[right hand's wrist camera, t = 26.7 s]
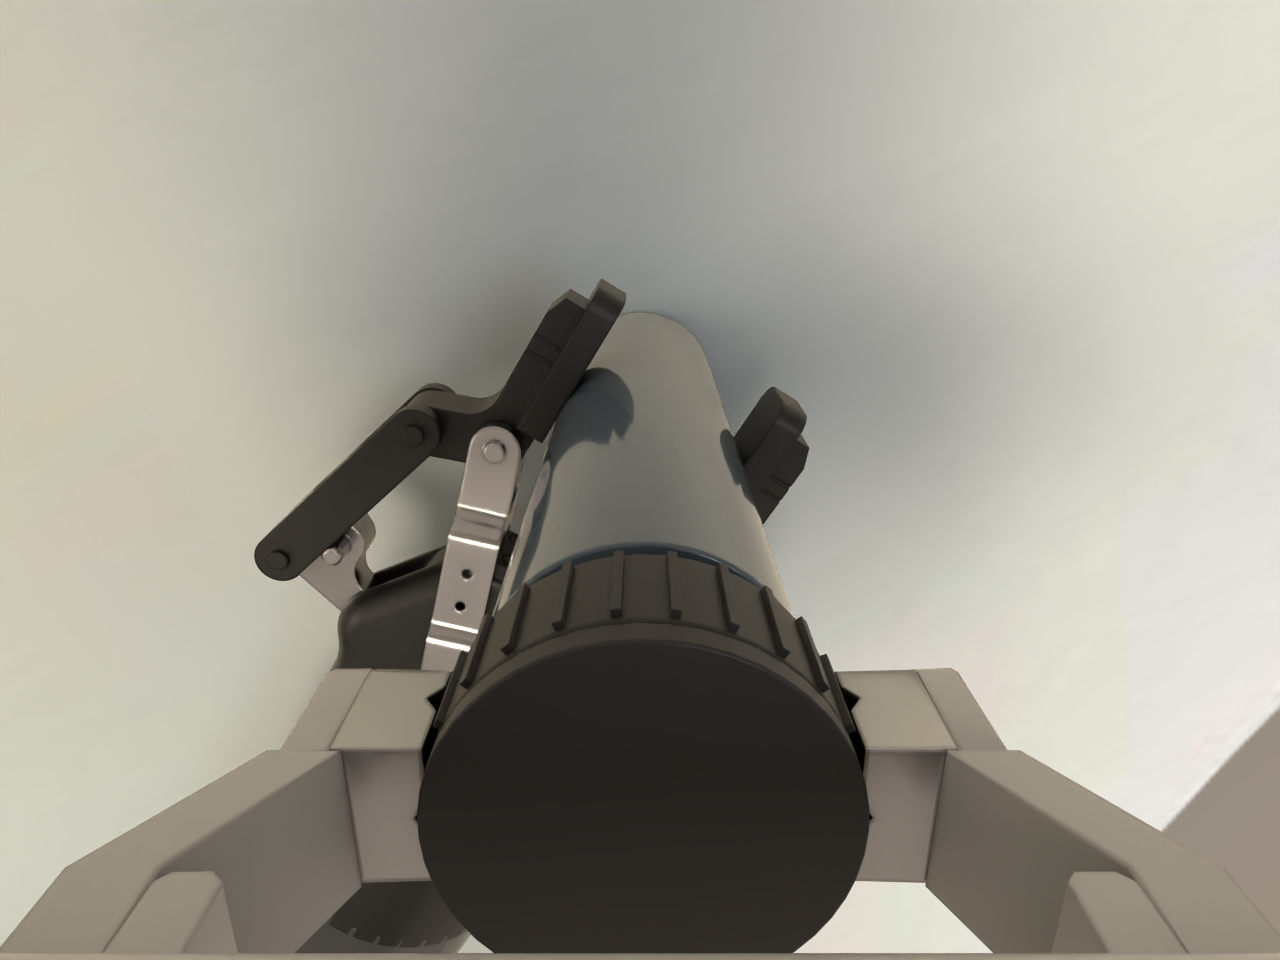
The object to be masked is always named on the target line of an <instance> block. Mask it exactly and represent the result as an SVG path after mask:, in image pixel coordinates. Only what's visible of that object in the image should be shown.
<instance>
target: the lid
mask: <svg viewBox="0 0 1280 960" xmlns="http://www.w3.org/2000/svg"><path fill="white" fill-rule="evenodd" d="M433 727H435V728H437V729H438V734H437V737H436V740H435V743H434V746H433V748H432V751H431V754H430V757H429V759H428V762H427V765H426V768H425V772H424V775H423V779H422V782H421V786H420V790H419V798H418V808H417V824H418V838H419V842H420V847H421V851H422V855H423V860H424V863H425V866H426V868H427V871H428V873H429V876H430V878H431V881H432V883H433V885H434V887H435V889H436V890H437V892H438V894H439V895H440V897H441V899H442V900H443V902H444V904H445V905H446V906H447V908H448V909H449V910H450V912H451V913H452V914H453V915H454V917H455V918H456V919H457V920H458V922H459V923H460V924H461V925H462V926H463V927H464V928H465V929H466V930H467V931H468V932H469V933H470V934H471V935H472V936H473V937H475V938H476V939H477V940H478V941H479V942H480V943H482V944H483V945H484V946H486V947H487V948H488V949H490V950H491V951H492V952H494V953H793V952H795V951H796V950H797V949H799V948H800V947H801V946H802V945H804V944H805V943H806V942H807V941H809V940H810V939H811V938H812V937H813V936H815V935H816V934H817V933H818V932H819V930H820V929H821V928H822V927H823V926H824V925H825V924H826V923H827V922H828V921H829V920H830V919H831V918H832V917H833V915H834V914H835V913H836V911H837V910H838V908H839V907H840V906H841V904H842V903H843V902H844V900H845V899H846V897H847V895H848V893H849V891H850V890H851V888H852V886H853V884H854V882H855V880H856V878H857V876H858V873H859V870H860V867H861V864H862V861H863V859H864V856H865V851H866V845H867V840H868V834H869V801H868V794H867V788H866V782H865V779H864V776H863V773H862V770H861V767H860V764H859V761H858V758H857V756H856V753H855V750H854V747H853V744H852V742H851V739H850V736H849V733H852V732H854V731H855V727H854V725H853V722H852V719H851V717H850V714H849V711H848V709H847V706H846V703H845V701H844V698H843V695H842V693H841V690H840V687H839V685H838V682H837V679H836V677H835V674H834V671H833V669H832V666H831V663H830V661H829V658H828V656H827V654H824V655H822V656H820V655H819V653H818V651H817V649H816V647H815V645H814V642H813V639H812V636H811V633H810V631H809V628H808V625H807V622H806V621H805V620H804V618H803V617H802V616H801V617H799V618H798V619H795V618H794V617H793V616H792V615H791V614H790V613H789V612H788V611H787V610H786V609H785V608H784V607H783V606H782V605H781V604H780V603H779V602H777V601H776V600H775V598H774V595H773V592H772V589H770V588H769V587H768V586H766V585H764V586H763V588H762V589H760V588H758V587H757V586H755V585H753V584H752V583H750V582H748V581H746V580H745V579H743V578H741V577H739V576H737V575H734V574H732V573H730V572H729V570H728V566H727V565H725V564H722V563H719V564H718V566H717V567H715V566H712V565H708V564H705V563H701V562H698V561H695V560H691V559H685V558H679V557H677V552H673V551H668V552H667V556H666V555H644V554H635V555H624V551H623V550H621V551H614V556H612V557H607V558H602V559H597V560H592V561H587V562H584V563H581V564H578V565H575V566H574V565H573V563H572V561H569V562H566V563H563V566H562V570H560V571H558V572H556V573H554V574H552V575H550V576H548V577H545V578H543V579H541V580H539V581H537V582H536V583H534V584H533V585H531V586H528V585H527V584H526V583H523V584H521V585H520V586H518V589H517V592H516V596H515V597H513V598H512V599H511V600H510V601H509V602H508V603H506V604H505V605H504V606H503V607H502V608H501V609H499V610H498V611H497V613H496V614H495V615H494V616H491V615H490V614H489V613H487V614H486V615H485V616H484V617H483V618H482V621H481V624H480V627H479V630H478V633H477V636H476V639H475V641H474V642H473V644H472V645H471V647H470V649H469V651H468V652H465V651H463V650H461V652H460V654H459V656H458V659H457V661H456V664H455V667H454V670H453V672H452V675H451V678H450V680H449V683H448V686H447V689H446V691H445V694H444V697H443V699H442V702H441V705H440V708H439V710H438V713H437V716H436V718H435V721H434V724H433Z"/></svg>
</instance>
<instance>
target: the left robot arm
mask: <svg viewBox="0 0 1280 960" xmlns="http://www.w3.org/2000/svg"><path fill="white" fill-rule="evenodd" d="M625 301H626V293H624V292H622V291H621V290H619V289H618V288H616V287H614V286H613V285H611V284H609V283H608V282H606V281H605V280H603V279H601V280H600V281H599V283H598V285H597V286H596V288H595V290H594V291H593V293H592V295H591V296H590V298H589V300H588V299H586V298H585V297H583V296H581V295H580V294H578V293H577V292H575V291H573V290H572V289H570V290H569V291H567V292H566V293H565V294H563V295H562V296H561V297H560V298H558V299H557V300H556V301H554V302H553V303H552V305H551V307H550V308H549V310H548V312H547V313H546V315H545V317H544V318H543V320H542V322H541V324H540V325H539V327H538V329H537V331H536V332H535V334H534V336H533V338H532V339H531V341H530V343H529V345H528V346H527V348H526V350H525V352H524V353H523V355H522V357H521V359H520V360H519V362H518V364H517V366H516V367H515V369H514V371H513V373H512V374H511V376H510V378H509V379H508V381H507V383H506V385H505V386H504V388H503V389H502V390H501V391H499V392H498V393H497V394H495V395H493V396H490V397H486V398H474V397H469V396H464V395H458V394H456V393H455V392H454V391H453V390H452V389H450V388H449V387H447V386H445V385H443V384H439V383H432V384H427V385H425V386H423V387H422V388H420V389H419V390H418V391H417V392H416V393H415V394H414V395H413V396H412V397H411V398H410V399H409V400H408V401H407V402H405V403H404V404H403V405H402V406H401V407H400V408H399V409H398V410H397V411H396V412H395V413H394V414H393V415H392V416H391V417H390V418H388V419H387V420H386V421H385V422H384V423H383V424H382V425H381V426H380V427H379V428H378V429H377V430H376V431H375V432H374V433H373V434H372V435H370V436H369V437H368V438H367V439H366V440H365V441H364V442H363V443H362V444H361V445H360V446H359V447H358V448H357V449H356V450H355V451H353V452H352V453H351V454H350V455H349V456H348V457H347V458H346V459H345V460H344V461H343V462H342V463H341V464H340V465H339V466H338V467H336V468H335V469H334V470H333V471H332V472H331V473H330V474H329V475H328V476H327V477H326V478H325V479H324V480H323V481H322V482H321V483H319V484H318V485H317V486H316V487H315V488H314V489H313V490H312V491H311V492H310V493H309V494H308V495H307V496H306V497H305V498H304V499H302V500H301V501H300V502H299V503H298V504H297V505H296V506H295V507H294V508H293V509H292V510H291V511H290V512H289V513H288V514H287V515H286V516H285V517H284V518H283V519H282V520H281V521H280V522H279V523H278V524H277V525H276V526H275V527H274V528H273V529H272V530H271V531H270V532H269V533H268V534H267V535H266V537H265V538H264V539H263V540H262V541H261V542H260V543H259V544H258V545H257V547H256V549H255V553H254V557H255V562H256V564H257V566H258V568H259V569H260V570H261V572H262V573H264V574H265V575H266V576H268V577H269V578H272V579H274V580H279V581H287V580H291V579H294V578H296V577H297V576H298V575H300V576H301V577H302V578H303V579H305V580H306V581H307V582H308V583H309V584H310V585H312V586H313V587H314V588H315V589H316V590H317V591H318V592H320V593H321V594H322V595H323V596H324V597H325V598H327V599H328V600H329V601H330V602H331V603H332V604H333V605H335V606H336V607H337V608H338V609H339V610H340V611H341V613H340V616H339V620H338V636H339V653H338V657H337V660H336V661H335V663H334V665H333V667H332V668H331V670H330V671H332V670H334V669H373V670H375V669H406V670H454V667H455V664H456V661H457V659H458V656H459V654H460V652H461V650H463V651H465V652H468V651H469V649H470V647H471V645H472V644H473V642H474V641H475V639H476V636H477V633H478V630H479V627H480V624H481V621H482V618H483V617H484V616H485V615H486V614H487V613H489V614H490V615H491V616H492V614H493V611H494V608H495V605H496V602H497V598H498V595H499V592H500V589H501V586H502V583H503V580H504V577H505V574H506V571H507V568H508V565H509V562H510V558H511V555H512V552H513V549H514V546H515V543H516V540H517V537H518V534H516V533H514V532H512V531H510V529H511V525H512V520H513V516H514V511H515V507H516V503H517V498H518V494H519V488H520V480H521V476H522V472H523V467H524V463H525V458H526V454H527V450H528V448H529V447H530V445H531V443H532V442H533V440H534V439H536V440H537V441H539V442H541V443H542V442H543V441H544V439H545V437H546V436H547V434H548V432H549V431H550V429H551V427H552V426H553V424H554V422H555V421H556V419H557V417H558V415H559V413H560V411H561V410H562V408H563V407H564V405H565V404H566V402H567V401H568V399H569V398H570V396H571V394H572V393H573V391H574V389H575V388H576V386H577V384H578V383H579V381H580V379H581V378H582V376H583V374H584V373H585V371H586V369H587V368H588V366H589V365H590V363H591V361H592V360H593V358H594V356H595V355H596V353H597V351H598V350H599V348H600V346H601V345H602V343H603V341H604V340H605V338H606V336H607V335H608V333H609V331H610V330H611V328H612V326H613V325H614V323H615V321H616V320H617V318H618V316H619V314H620V313H621V311H622V309H623V307H624V305H625ZM806 420H807V416H806V414H805V413H804V411H803V410H802V408H801V407H800V405H799V403H798V402H797V401H796V400H794V399H793V398H791V397H790V396H788V395H786V394H785V393H783V392H782V391H780V390H778V389H777V388H775V387H771V388H770V389H768V390H767V391H766V392H765V393H764V395H763V396H762V397H761V399H760V400H759V402H758V403H757V405H756V406H755V407H754V409H753V410H752V412H751V413H750V415H749V416H748V418H747V419H746V420H745V422H744V423H743V425H742V426H741V428H740V429H739V431H738V432H737V433H736V435H735V436H734V441H735V444H736V447H737V450H738V453H739V456H740V459H741V462H742V465H743V468H744V471H745V474H746V477H747V480H748V483H749V486H750V489H751V492H752V495H753V498H754V501H755V504H756V507H757V510H758V513H759V516H760V519H761V522H762V525H763V524H764V523H765V521H766V520H767V518H768V517H769V516H770V514H771V513H772V512H773V510H774V509H775V507H776V506H777V505H778V503H779V501H780V500H781V499H782V498H783V497H784V495H785V494H786V492H787V491H788V489H789V487H790V486H792V484H793V483H794V482H795V480H796V479H797V477H798V476H799V475H800V473H801V472H802V471H803V469H804V466H805V462H806V458H807V454H808V451H809V447H808V445H807V443H806V442H805V440H804V438H803V436H802V435H801V433H802V431H803V429H804V426H805V424H806ZM429 456H433V457H438V458H444V459H449V460H454V461H459V462H464V463H465V468H464V473H463V478H462V483H461V488H460V493H459V498H458V503H457V508H456V512H455V515H454V518H453V521H452V524H451V527H450V531H449V535H448V540H447V545H445V546H442V547H440V548H437V549H435V550H432V551H429V552H427V553H424V554H422V555H419V556H416V557H414V558H411V559H409V560H406V561H403V562H401V563H398V564H396V565H393V566H391V567H388V568H385V569H383V570H380V571H378V572H375V573H373V572H372V571H371V570H370V569H369V567H368V565H367V562H366V551H367V549H368V548H369V546H370V545H371V543H372V542H373V540H374V538H375V534H376V530H375V525H374V523H373V521H372V519H371V518H370V516H369V515H368V512H369V511H370V510H371V509H372V508H373V507H374V506H375V505H376V504H377V503H379V502H380V501H381V500H382V499H383V498H384V497H385V496H386V495H387V494H388V493H389V492H391V491H392V490H393V489H394V488H395V487H396V486H397V485H398V484H399V483H400V482H402V481H403V480H404V479H405V478H406V477H407V476H408V475H409V474H410V473H411V472H413V471H414V470H415V469H416V468H417V467H418V466H419V465H420V464H421V463H422V462H424V461H425V460H426V459H427V458H428V457H429ZM470 935H471V934H470V933H469V932H468V931H467V930H466V929H465V928H464V927H463V926H462V925H461V924H460V923H459V922H458V920H457V919H456V918H455V917H454V915H453V914H452V913H451V912H450V910H449V909H448V908H447V906H446V905H445V904H444V902H443V900H442V899H441V897H440V895H439V894H438V892H437V890H436V889H435V887H434V885H433V883H432V881H404V882H369V883H361V888H360V889H359V890H358V891H357V892H356V893H355V894H354V895H353V896H352V897H351V898H350V899H349V900H348V901H347V902H346V903H345V904H344V905H343V906H342V907H341V908H339V909H338V910H337V911H336V912H335V913H334V914H333V915H332V916H331V917H330V918H329V919H328V920H327V921H326V922H325V923H324V924H323V925H322V926H321V927H320V928H319V929H318V930H317V931H316V932H315V933H314V934H313V935H312V936H311V937H310V938H309V939H308V940H307V941H306V942H305V943H304V944H303V945H302V946H301V947H300V948H299V949H298V950H297V951H296V952H295V953H458V951H459V950H460V949H461V947H462V946H463V945H464V943H465V942H466V941H467V939H468V938H469V936H470Z"/></svg>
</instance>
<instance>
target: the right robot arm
mask: <svg viewBox="0 0 1280 960" xmlns="http://www.w3.org/2000/svg"><path fill="white" fill-rule="evenodd" d="M452 672H453V670H406V669H375V670H373V669H334V670H332V671H330V672H328V673H327V674H326V676H325V678H324V679H323V681H322V683H321V684H320V686H319V687H318V689H317V691H316V692H315V694H314V696H313V697H312V699H311V701H310V702H309V704H308V705H307V707H306V709H305V710H304V712H303V714H302V715H301V717H300V718H299V720H298V722H297V723H296V725H295V727H294V728H293V730H292V731H291V733H290V735H289V736H288V738H287V740H286V741H285V743H284V744H283V746H282V748H281V749H280V750H268V751H266V752H264V753H262V754H261V755H259V756H257V757H255V758H254V759H252V760H250V761H248V762H247V763H245V764H243V765H242V766H240V767H238V768H236V769H235V770H233V771H231V772H230V773H228V774H226V775H224V776H223V777H221V778H219V779H217V780H216V781H214V782H212V783H211V784H209V785H207V786H205V787H204V788H202V789H200V790H198V791H197V792H195V793H193V794H192V795H190V796H188V797H186V798H185V799H183V800H181V801H180V802H178V803H176V804H174V805H173V806H171V807H169V808H167V809H166V810H164V811H162V812H161V813H159V814H157V815H155V816H154V817H152V818H150V819H149V820H147V821H145V822H143V823H142V824H140V825H138V826H136V827H135V828H133V829H131V830H130V831H128V832H126V833H124V834H123V835H121V836H119V837H117V838H116V839H114V840H112V841H111V842H109V843H107V844H105V845H104V846H102V847H100V848H99V849H97V850H95V851H93V852H92V853H90V854H88V855H86V856H85V857H83V858H81V859H80V860H78V861H76V862H74V863H73V864H71V865H69V866H67V867H66V868H64V870H63V871H62V872H61V873H60V875H59V876H58V877H57V878H56V879H55V881H54V882H53V883H52V884H51V886H50V887H49V888H48V889H47V891H46V892H45V893H44V894H43V895H42V897H41V898H40V899H39V900H38V902H37V903H36V904H35V905H34V906H33V908H32V909H31V910H30V911H29V913H28V914H27V915H26V916H25V918H24V919H23V920H22V921H21V922H20V924H19V925H18V926H17V927H16V929H15V930H14V931H13V932H12V933H11V935H10V936H9V937H8V938H7V940H6V941H5V942H4V943H3V944H2V946H1V947H0V960H1280V934H1279V933H1278V932H1277V931H1276V930H1275V928H1274V927H1273V926H1272V925H1271V923H1270V922H1269V921H1268V920H1267V919H1266V917H1265V916H1264V915H1263V914H1262V913H1261V911H1260V910H1259V909H1258V908H1257V906H1256V905H1255V904H1254V903H1253V902H1252V900H1251V899H1250V898H1249V897H1248V895H1247V894H1246V893H1245V892H1244V891H1243V889H1242V888H1241V887H1240V886H1239V885H1238V883H1237V882H1236V881H1235V880H1234V879H1233V877H1232V876H1231V875H1230V874H1229V872H1228V871H1227V870H1226V869H1225V868H1223V867H1221V866H1219V865H1218V864H1216V863H1214V862H1212V861H1211V860H1209V859H1207V858H1205V857H1204V856H1202V855H1200V854H1198V853H1197V852H1195V851H1193V850H1192V849H1190V848H1188V847H1186V846H1185V845H1183V844H1181V843H1179V842H1178V841H1176V840H1174V839H1173V838H1171V837H1169V836H1167V835H1166V834H1164V833H1162V832H1160V831H1159V830H1157V829H1155V828H1153V827H1152V826H1150V825H1148V824H1147V823H1145V822H1143V821H1141V820H1140V819H1138V818H1136V817H1134V816H1133V815H1131V814H1129V813H1127V812H1126V811H1124V810H1122V809H1121V808H1119V807H1117V806H1115V805H1114V804H1112V803H1110V802H1108V801H1107V800H1105V799H1103V798H1102V797H1100V796H1098V795H1096V794H1095V793H1093V792H1091V791H1089V790H1088V789H1086V788H1084V787H1082V786H1081V785H1079V784H1077V783H1076V782H1074V781H1072V780H1070V779H1069V778H1067V777H1065V776H1063V775H1062V774H1060V773H1058V772H1056V771H1055V770H1053V769H1051V768H1050V767H1048V766H1046V765H1044V764H1043V763H1041V762H1039V761H1037V760H1036V759H1034V758H1032V757H1030V756H1029V755H1027V754H1025V753H1024V752H1022V751H1020V750H1007V749H1006V747H1005V746H1004V744H1003V742H1002V741H1001V739H1000V738H999V736H998V735H997V733H996V731H995V730H994V728H993V727H992V725H991V723H990V722H989V720H988V719H987V717H986V716H985V714H984V712H983V711H982V709H981V708H980V706H979V705H978V703H977V701H976V700H975V698H974V697H973V695H972V694H971V692H970V690H969V689H968V687H967V686H966V684H965V683H964V681H963V679H962V678H961V676H960V675H959V673H958V672H957V671H955V670H954V669H952V668H939V669H912V670H888V671H842V672H834V674H835V677H836V679H837V682H838V685H839V687H840V690H841V693H842V695H843V698H844V701H845V703H846V706H847V709H848V711H849V714H850V717H851V719H852V722H853V725H854V727H855V731H854V732H852V733H849V736H850V739H851V742H852V744H853V747H854V750H855V753H856V756H857V758H858V761H859V764H860V767H861V770H862V773H863V776H864V779H865V782H866V788H867V794H868V801H869V834H868V840H867V845H866V851H865V856H864V859H863V861H862V864H861V867H860V870H859V873H858V876H857V878H856V880H855V881H881V882H917V883H926V887H927V888H928V889H929V890H930V891H931V892H932V893H933V894H934V895H935V896H936V897H937V898H938V899H939V900H940V901H941V902H942V903H943V904H944V905H945V906H946V907H947V908H948V909H949V910H950V911H951V912H952V913H953V914H954V915H955V916H956V917H957V918H958V919H959V920H960V921H961V922H962V923H963V924H964V925H965V926H966V927H967V928H969V929H970V930H971V931H972V932H973V933H974V934H975V935H976V936H977V937H978V938H979V939H980V940H981V941H982V942H983V943H984V944H985V945H986V946H987V947H988V948H989V949H990V950H991V951H992V952H993V953H295V952H296V951H297V950H298V949H299V948H300V947H301V946H302V945H303V944H304V943H305V942H306V941H307V940H308V939H309V938H310V937H311V936H312V935H313V934H314V933H315V932H316V931H317V930H318V929H319V928H320V927H321V926H322V925H323V924H324V923H325V922H326V921H327V920H328V919H329V918H330V917H331V916H332V915H333V914H334V913H335V912H336V911H337V910H338V909H339V908H341V907H342V906H343V905H344V904H345V903H346V902H347V901H348V900H349V899H350V898H351V897H352V896H353V895H354V894H355V893H356V892H357V891H358V890H359V889H360V888H361V883H369V882H404V881H431V878H430V876H429V873H428V871H427V868H426V866H425V863H424V860H423V855H422V851H421V847H420V842H419V838H418V824H417V808H418V798H419V790H420V786H421V782H422V779H423V775H424V772H425V768H426V765H427V762H428V759H429V757H430V754H431V751H432V748H433V746H434V743H435V740H436V737H437V734H438V729H437V728H435V727H433V724H434V721H435V718H436V716H437V713H438V710H439V708H440V705H441V702H442V699H443V697H444V694H445V691H446V689H447V686H448V683H449V680H450V678H451V675H452Z"/></svg>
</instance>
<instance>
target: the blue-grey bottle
mask: <svg viewBox="0 0 1280 960" xmlns="http://www.w3.org/2000/svg"><path fill="white" fill-rule="evenodd" d="M621 550H623V551H624V555H635V554H644V555H666V556H667V552H668V551H673V552H677V557H679V558H685V559H691V560H695V561H698V562H701V563H705V564H708V565H712V566H715V567H717V566H718V564H719V563H722V564H725V565H727V566H728V570H729V572H730V573H732V574H734V575H737V576H739V577H741V578H743V579H745V580H746V581H748V582H750V583H752V584H753V585H755V586H757V587H758V588H760V589H762V588H763V586H764V585H766V586H768V587H769V588H770V589H772V592H773V595H774V598H775V600H776V601H777V602H779V603H780V604H781V605H782V606H783V607H784V608H785V609H786V610H787V611H788V612H789V613H790V614H791V615H792V616H793V614H792V611H791V608H790V605H789V602H788V599H787V596H786V593H785V590H784V587H783V584H782V581H781V578H780V575H779V572H778V569H777V566H776V563H775V560H774V557H773V555H772V552H771V549H770V546H769V543H768V540H767V537H766V534H765V531H764V528H763V525H762V522H761V519H760V516H759V513H758V510H757V507H756V504H755V501H754V498H753V495H752V492H751V489H750V486H749V483H748V480H747V477H746V474H745V471H744V468H743V465H742V462H741V459H740V456H739V453H738V450H737V447H736V444H735V441H734V438H733V435H732V432H731V429H730V426H729V424H728V421H727V418H726V415H725V412H724V409H723V406H722V403H721V400H720V397H719V394H718V391H717V388H716V385H715V382H714V379H713V376H712V373H711V370H710V367H709V364H708V361H707V358H706V356H705V353H704V351H703V349H702V347H701V345H700V344H699V342H698V341H697V340H696V338H695V337H694V336H693V335H692V334H691V333H690V332H689V331H688V330H687V329H686V328H685V327H684V326H682V325H681V324H679V323H678V322H676V321H674V320H672V319H670V318H668V317H665V316H662V315H659V314H654V313H647V312H633V313H628V314H623V315H620V316H618V318H617V320H616V321H615V323H614V325H613V326H612V328H611V330H610V331H609V333H608V335H607V336H606V338H605V340H604V341H603V343H602V345H601V346H600V348H599V350H598V351H597V353H596V355H595V356H594V358H593V360H592V361H591V363H590V365H589V366H588V368H587V369H586V371H585V373H584V374H583V376H582V378H581V379H580V381H579V383H578V384H577V386H576V388H575V389H574V391H573V393H572V394H571V396H570V398H569V399H568V401H567V402H566V404H565V405H564V407H563V408H562V410H561V411H560V413H559V415H558V417H557V419H556V421H555V423H554V426H553V429H552V432H551V435H550V438H549V441H548V444H547V447H546V451H545V454H544V457H543V460H542V463H541V466H540V469H539V472H538V475H537V478H536V481H535V484H534V488H533V491H532V494H531V497H530V500H529V503H528V506H527V509H526V512H525V515H524V518H523V521H522V525H521V528H520V531H519V534H518V537H517V540H516V543H515V546H514V549H513V552H512V555H511V558H510V562H509V565H508V568H507V571H506V574H505V577H504V580H503V583H502V586H501V589H500V592H499V595H498V598H497V602H496V605H495V608H494V611H493V614H492V616H494V615H495V614H496V613H497V611H498V610H499V609H501V608H502V607H503V606H504V605H505V604H506V603H508V602H509V601H510V600H511V599H512V598H513V597H515V596H516V592H517V589H518V586H520V585H521V584H523V583H526V584H527V585H528V586H531V585H533V584H534V583H536V582H537V581H539V580H541V579H543V578H545V577H548V576H550V575H552V574H554V573H556V572H558V571H560V570H562V566H563V563H566V562H569V561H572V563H573V565H574V566H575V565H578V564H581V563H584V562H587V561H592V560H597V559H602V558H607V557H612V556H614V551H621Z"/></svg>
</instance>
